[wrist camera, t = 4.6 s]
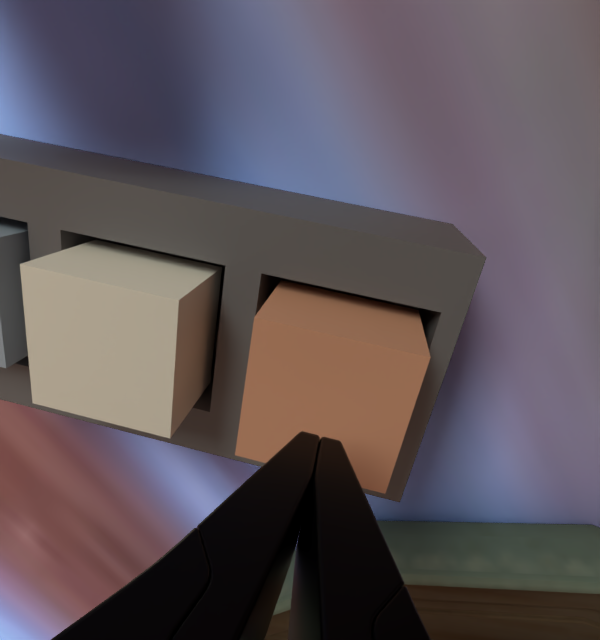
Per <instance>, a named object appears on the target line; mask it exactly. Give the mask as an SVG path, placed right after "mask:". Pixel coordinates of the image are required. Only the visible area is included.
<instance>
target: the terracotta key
mask: <svg viewBox="0 0 600 640" xmlns="http://www.w3.org/2000/svg"><path fill="white" fill-rule="evenodd" d="M430 358H431V357H430V353H429V349H428V345H427V342H426V338H425V334H424V330H423V326H422V322H421V319H420V315H419V311H418V310H416V309H411V308H407V307H402V306H398V305H393V304H388V303H384V302H379V301H375V300H370V299H365V298H361V297H356V296H352V295H347V294H343V293H338V292H333V291H329V290H324V289H320V288H315V287H310V286H306V285H301V284H297V283H292V282H288V281H283V280H281V281H280V283H279V284H278V285H277V287H276V288H275V289H274V291H273V292H272V294H271V295H270V296H269V298H268V299H267V300H266V302H265V303H264V305H263V306H262V307H261V309H260V310H259V311H258V313H257V314H256V316H255V317H254V323H253V330H252V337H251V344H250V351H249V358H248V365H247V373H246V380H245V387H244V394H243V401H242V408H241V415H240V422H239V430H238V437H237V444H236V451H235V455H236V456H240V457H244V458H248V459H252V460H256V461H259V462H263V463H266V462H267V461H269V460H270V459H271V458H272V457H273V456H274V455H275V454H276V453H277V452H278V451H280V450H281V449H282V448H283V447H284V446H285V445H286V444H287V443H288V442H289V441H290V440H292V439H293V438H294V437H295V436H296V435H297V434H298V433H299V432H301V431H304V432H308V433H312V434H316V435H318V436H319V437H320V439H321V437H328V438H332V439H336V440H339V441H341V443H342V445H343V447H344V449H345V451H346V453H347V456H348V458H349V460H350V462H351V465H352V467H353V469H354V471H355V474H356V476H357V478H358V480H359V482H360V485H361V487H362V488H364V489H368V490H372V491H376V492H380V493H384V494H385V493H386V490H387V487H388V484H389V481H390V478H391V475H392V472H393V469H394V466H395V463H396V460H397V457H398V454H399V451H400V448H401V445H402V442H403V439H404V436H405V433H406V430H407V427H408V424H409V421H410V418H411V415H412V412H413V409H414V406H415V403H416V400H417V397H418V394H419V391H420V388H421V385H422V382H423V379H424V376H425V373H426V370H427V367H428V364H429V361H430Z"/></svg>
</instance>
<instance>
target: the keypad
mask: <svg viewBox="0 0 600 640" xmlns="http://www.w3.org/2000/svg"><path fill="white" fill-rule="evenodd" d="M0 217H5V218H9V219H14V220H18V221H23V222H27V224H28V236H29V248H30V261H31V260H34V259H37V258H40V257H43V256H46V255H49V254H53V253H56V252H59V251H62V250H65V249H68V248H71V247H74V246H77V245H81V244H84V243H87V242H90V241H93V240H100V241H104V242H109V243H113V244H118V245H122V246H127V247H132V248H136V249H141V250H145V251H150V252H155V253H159V254H164V255H168V256H173V257H178V258H182V259H187V260H191V261H196V262H200V263H205V264H210V265H214V266H219V267H222V273H221V283H220V293H219V302H218V312H217V322H216V331H215V341H214V351H213V361H212V370H211V380H210V383H209V385H208V386H207V388H206V389H205V390H204V392H203V393H202V395H201V396H200V397H199V399H198V400H197V402H196V403H195V404H194V406H193V407H192V409H191V410H190V411H189V413H188V414H187V416H186V417H185V418H184V420H183V421H182V423H181V424H180V426H179V427H178V428H177V430H176V431H175V433H174V434H173V435H172V437H171V438H166V437H162V436H158V435H154V434H151V433H147V432H143V431H139V430H135V429H131V428H127V427H123V426H119V425H116V424H112V423H108V422H104V421H100V420H96V419H92V418H88V417H84V416H81V415H77V414H73V413H69V412H65V411H61V410H57V409H53V408H49V407H46V406H42V405H38V404H34V403H32V392H31V381H30V370H29V359H28V356H26V357H25V358H23V359H21V360H20V361H18V362H16V363H14V364H13V365H11V366H9V367H8V368H3V367H0V399H1V400H5V401H9V402H13V403H17V404H21V405H25V406H29V407H32V408H36V409H40V410H44V411H48V412H52V413H56V414H60V415H63V416H67V417H71V418H75V419H79V420H83V421H87V422H91V423H94V424H98V425H102V426H106V427H110V428H114V429H118V430H122V431H125V432H129V433H133V434H137V435H141V436H145V437H149V438H153V439H156V440H160V441H164V442H168V443H172V444H176V445H180V446H184V447H187V448H191V449H195V450H199V451H203V452H207V453H211V454H215V455H218V456H222V457H226V458H230V459H234V460H238V461H242V462H245V463H249V464H253V465H257V466H261V467H262V466H263V465H264V464H265V463H263V462H259V461H256V460H252V459H248V458H244V457H240V456H236V455H235V451H236V444H237V437H238V430H239V422H240V415H241V408H242V401H243V394H244V387H245V380H246V373H247V365H248V358H249V351H250V344H251V337H252V330H253V323H254V317H255V316H256V314H257V313H258V311H259V310H260V309H261V307H262V306H263V305H264V303H265V302H266V300H267V299H268V298H269V296H270V295H271V294H272V292H273V291H274V289H275V288H276V287H277V285H278V284H279V283H280V281H281V280H283V281H288V282H292V283H297V284H301V285H306V286H310V287H315V288H320V289H324V290H329V291H333V292H338V293H343V294H347V295H352V296H356V297H361V298H365V299H370V300H375V301H379V302H384V303H388V304H393V305H398V306H402V307H407V308H411V309H416V310H418V311H419V315H420V319H421V322H422V326H423V330H424V334H425V338H426V342H427V345H428V349H429V353H430V357H431V358H430V361H429V364H428V367H427V370H426V373H425V376H424V379H423V382H422V385H421V388H420V391H419V394H418V397H417V400H416V403H415V406H414V409H413V412H412V415H411V418H410V421H409V424H408V427H407V430H406V433H405V436H404V439H403V442H402V445H401V448H400V451H399V454H398V457H397V460H396V463H395V466H394V469H393V472H392V475H391V478H390V481H389V484H388V487H387V490H386V493H385V494H384V493H380V492H376V491H372V490H368V489H364V488H362V489H363V491H364V493H366V494H369V495H373V496H377V497H381V498H385V499H389V500H393V501H397V502H400V500H401V497H402V495H403V492H404V489H405V486H406V483H407V481H408V478H409V475H410V472H411V469H412V466H413V464H414V461H415V458H416V455H417V452H418V449H419V447H420V444H421V441H422V438H423V435H424V432H425V430H426V427H427V424H428V421H429V418H430V416H431V413H432V410H433V407H434V404H435V401H436V399H437V396H438V393H439V390H440V387H441V384H442V382H443V379H444V376H445V373H446V370H447V367H448V365H449V362H450V359H451V356H452V353H453V351H454V348H455V345H456V342H457V339H458V336H459V334H460V331H461V328H462V325H463V322H464V319H465V317H466V314H467V311H468V308H469V305H470V302H471V300H472V297H473V294H474V291H475V288H476V285H477V283H478V280H479V277H480V274H481V271H482V269H483V266H484V263H485V260H486V257H485V256H484V255H483V254H482V253H481V252H480V251H479V250H478V249H477V248H476V247H475V246H474V245H473V244H472V243H471V242H470V241H469V240H468V239H467V238H466V237H465V236H464V235H463V234H462V233H461V232H460V231H459V230H458V229H457V228H456V227H455V226H454V225H453V224H449V223H444V222H439V221H434V220H429V219H424V218H419V217H414V216H409V215H404V214H399V213H394V212H389V211H384V210H379V209H374V208H369V207H364V206H359V205H354V204H349V203H344V202H339V201H334V200H329V199H324V198H319V197H314V196H309V195H304V194H299V193H293V192H288V191H283V190H278V189H273V188H268V187H263V186H258V185H253V184H248V183H243V182H238V181H233V180H228V179H223V178H218V177H213V176H208V175H203V174H198V173H193V172H188V171H183V170H178V169H173V168H168V167H163V166H158V165H153V164H148V163H143V162H138V161H133V160H128V159H123V158H118V157H113V156H108V155H103V154H98V153H93V152H88V151H83V150H78V149H73V148H68V147H63V146H58V145H53V144H48V143H43V142H38V141H33V140H28V139H23V138H18V137H13V136H8V135H3V134H0Z"/></svg>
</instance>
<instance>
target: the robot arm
mask: <svg viewBox="0 0 600 640" xmlns="http://www.w3.org/2000/svg"><path fill="white" fill-rule="evenodd" d="M299 531H300V532H299ZM298 536H299V537H298ZM297 540H298V542H297ZM296 544H297V548H296ZM295 548H296V556H295V565H294V576H293V587H292V598H291V609H290V620H289V631H288V640H431V639H430V636H429V634H428V632H427V630H426V628H425V626H424V624H423V622H422V620H421V618H420V616H419V614H418V611H417V609H416V607H415V605H414V603H413V600H412V598H411V596H410V594H409V591H408V589H407V587H405V586H404V581H403V578H402V576H401V574H400V572H399V569H398V567H397V565H396V563H395V561H394V558H393V556H392V554H391V552H390V549H389V547H388V545H387V543H386V540H385V538H384V536H383V534H382V532H381V529H380V527H379V525H378V523H377V520H376V518H375V516H374V514H373V511H372V509H371V507H370V505H369V503H368V500H367V498H366V496H365V494H364V491H363V489H362V487H361V485H360V482H359V480H358V478H357V476H356V474H355V471H354V469H353V467H352V465H351V462H350V460H349V458H348V456H347V453H346V451H345V449H344V447H343V445H342V443H341V441H339V440H336V439H332V438H328V437H321V439H320V437H319V436H318V435H316V434H312V433H308V432H304V431H301V432H299V433H298V434H297V435H296V436H295V437H294V438H293V439H292V440H290V441H289V442H288V443H287V444H286V445H285V446H284V447H283V448H282V449H281V450H280V451H278V452H277V453H276V454H275V455H274V456H273V457H272V458H271V459H270V460H269V461H267V462H266V463H265V464H264V465H263V466H262V467H261V468H260V469H259V470H258V471H257V472H255V473H254V474H253V475H252V476H251V477H250V478H249V479H248V480H247V481H246V482H245V483H243V484H242V485H241V486H240V487H239V488H238V489H237V490H236V491H235V492H234V493H233V494H231V495H230V496H229V497H228V498H227V499H226V500H225V501H224V502H223V503H222V504H221V505H219V506H218V507H217V508H216V509H215V510H214V511H213V512H212V513H211V514H210V515H209V516H207V517H206V518H205V519H204V520H203V521H202V522H201V523H200V524H199V525H198V526H197V528H194V529H193V530H192V531H191V532H190V533H189V534H188V535H186V536H185V537H184V538H183V539H182V540H181V541H180V542H179V543H178V544H177V545H175V546H174V547H173V548H172V549H171V550H170V551H168V552H167V553H166V554H165V555H164V556H163V557H161V558H160V559H159V560H158V561H157V562H156V563H154V564H153V565H152V566H150V567H149V568H148V569H146V570H145V571H144V572H143V573H141V574H140V575H139V576H137V577H136V578H135V579H133V580H132V581H131V582H129V583H128V584H127V585H125V586H124V587H123V588H121V589H120V590H119V591H117V592H116V593H114V594H113V595H112V596H110V597H109V598H108V599H106V600H105V601H103V602H102V603H101V604H99V605H98V606H97V607H95V608H94V609H92V610H91V611H90V612H88V613H87V614H86V615H84V616H83V617H81V618H80V619H79V620H77V621H76V622H74V623H73V624H72V625H70V626H69V627H68V628H66V629H65V630H63V631H62V632H61V633H59V634H58V635H57V636H55V637H54V638H52V639H51V640H264V639H265V636H266V633H267V630H268V628H269V625H270V622H271V619H272V616H273V613H274V610H275V607H276V604H277V601H278V599H279V596H280V593H281V590H282V587H283V584H284V581H285V578H286V575H287V572H288V570H289V567H290V564H291V561H292V558H293V554H294V551H295Z"/></svg>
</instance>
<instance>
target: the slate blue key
mask: <svg viewBox="0 0 600 640" xmlns="http://www.w3.org/2000/svg"><path fill="white" fill-rule="evenodd" d="M28 261H30V248H29V236H28V224H27V222H23V221H18V220H14V219H9V218H5V217H0V367H3V368H8V367H9V366H11V365H13V364H14V363H16V362H18V361H20V360H21V359H23V358H25V357H26V356H28V348H27V337H26V327H25V316H24V305H23V294H22V283H21V272H20V264H21V263H25V262H28Z"/></svg>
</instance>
